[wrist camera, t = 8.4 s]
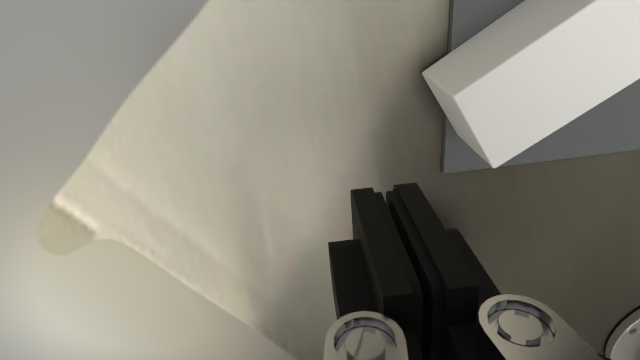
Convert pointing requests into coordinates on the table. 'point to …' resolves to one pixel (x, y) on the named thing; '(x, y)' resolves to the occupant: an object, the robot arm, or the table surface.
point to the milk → (536, 72)
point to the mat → (567, 142)
